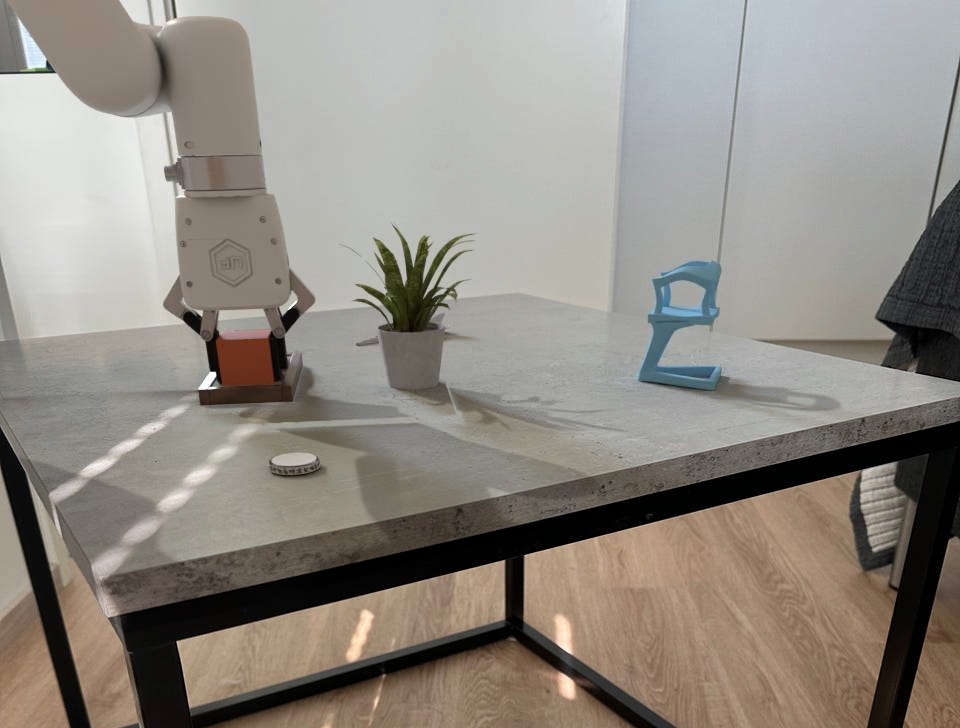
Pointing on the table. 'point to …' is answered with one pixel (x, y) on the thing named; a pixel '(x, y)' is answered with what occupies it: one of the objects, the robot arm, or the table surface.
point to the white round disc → (294, 463)
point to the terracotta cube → (245, 357)
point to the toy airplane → (436, 319)
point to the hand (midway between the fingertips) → (250, 376)
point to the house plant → (411, 315)
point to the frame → (253, 388)
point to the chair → (681, 325)
